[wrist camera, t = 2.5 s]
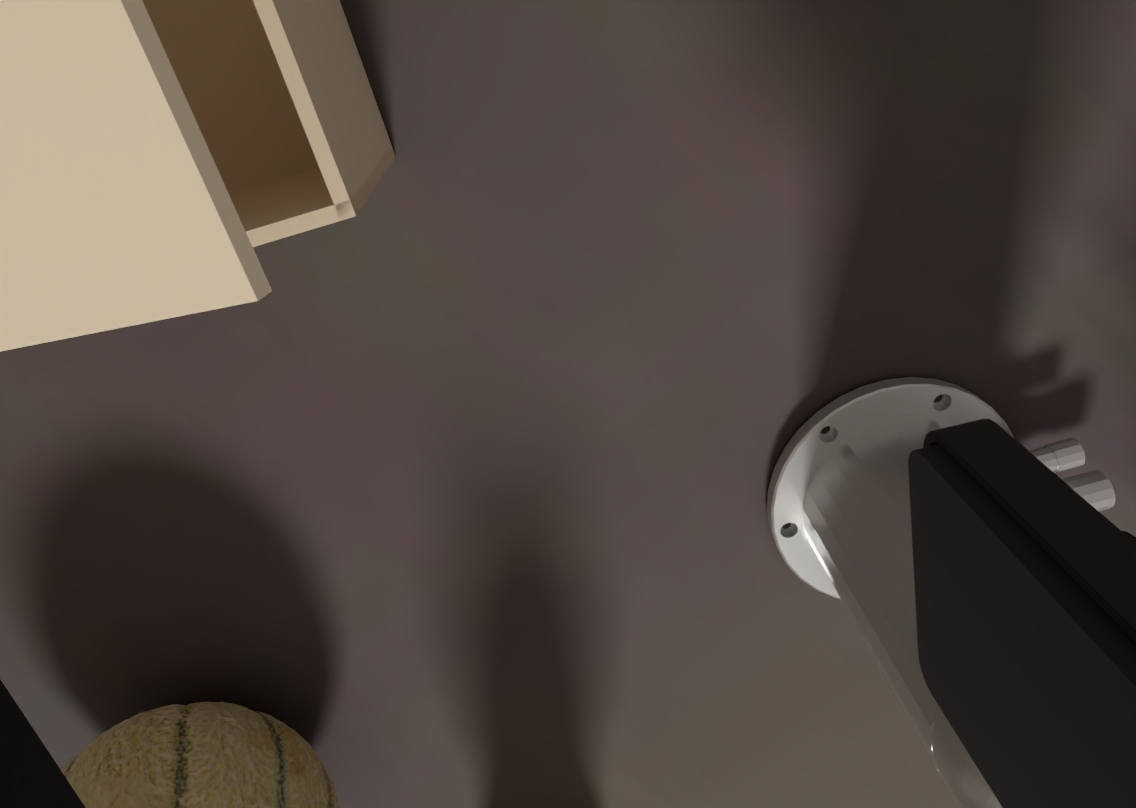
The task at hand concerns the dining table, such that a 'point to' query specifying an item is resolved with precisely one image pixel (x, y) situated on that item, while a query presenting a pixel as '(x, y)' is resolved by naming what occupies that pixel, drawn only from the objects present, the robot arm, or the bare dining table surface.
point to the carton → (278, 107)
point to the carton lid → (105, 180)
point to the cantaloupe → (200, 762)
